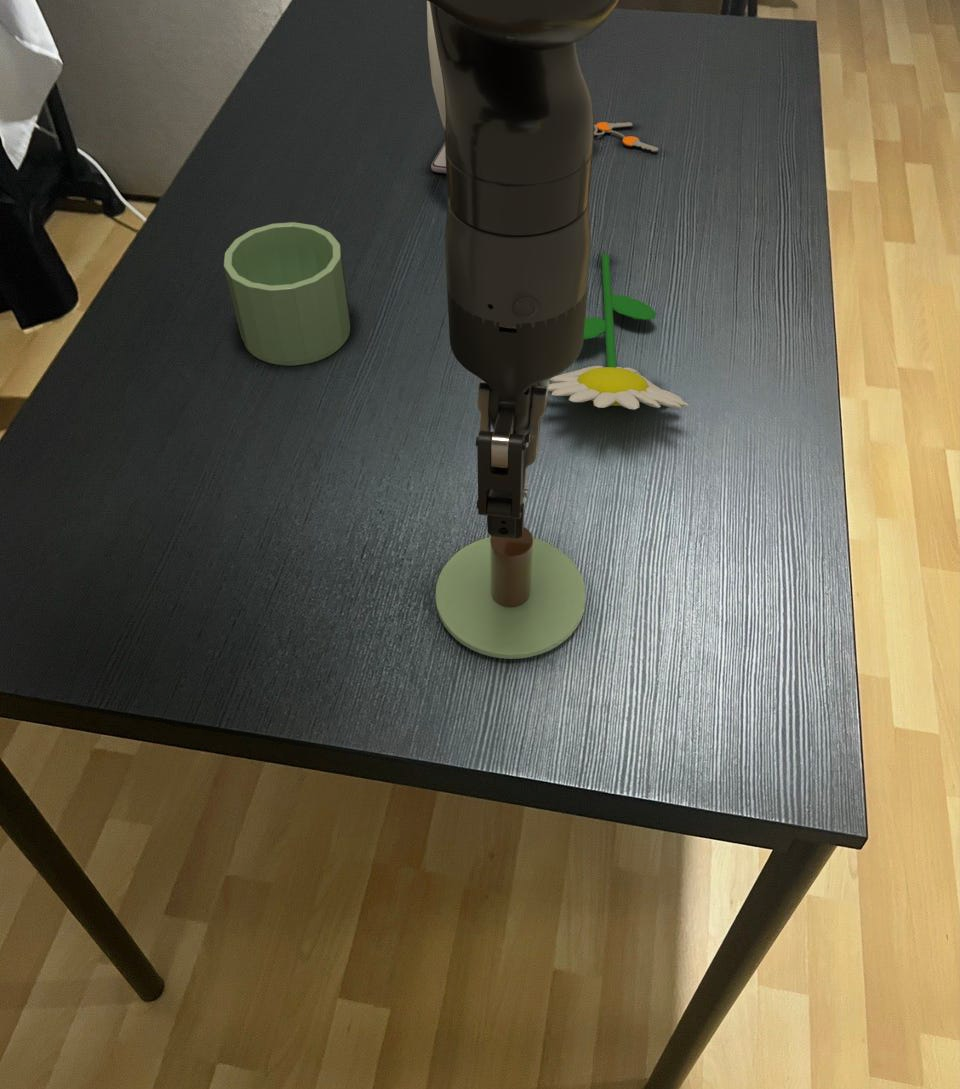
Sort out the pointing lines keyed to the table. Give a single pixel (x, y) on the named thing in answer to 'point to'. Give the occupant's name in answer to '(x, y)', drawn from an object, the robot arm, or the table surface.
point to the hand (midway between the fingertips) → (514, 484)
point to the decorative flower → (613, 362)
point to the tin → (288, 293)
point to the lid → (510, 596)
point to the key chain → (626, 140)
